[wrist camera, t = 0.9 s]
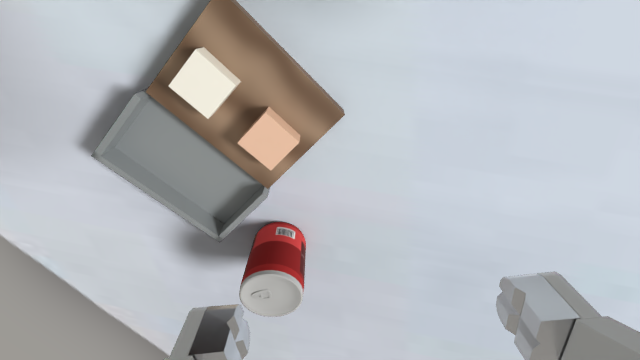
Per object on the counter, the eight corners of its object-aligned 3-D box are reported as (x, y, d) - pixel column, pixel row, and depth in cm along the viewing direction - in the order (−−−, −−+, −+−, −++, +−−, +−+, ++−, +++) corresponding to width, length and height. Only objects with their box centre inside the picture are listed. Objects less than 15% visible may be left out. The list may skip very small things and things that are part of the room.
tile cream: (203, 47, 33) (195, 49, 30) (241, 81, 34) (236, 85, 32) (177, 81, 34) (168, 86, 32) (214, 112, 36) (208, 119, 34)
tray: (149, 87, 37) (134, 93, 34) (270, 184, 43) (267, 197, 40) (108, 145, 40) (91, 155, 37) (226, 227, 47) (219, 242, 43)
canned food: (245, 230, 47) (226, 285, 37) (293, 213, 45) (286, 265, 36) (268, 265, 50) (256, 324, 40) (313, 250, 49) (312, 307, 39)
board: (226, -10, 32) (219, -12, 30) (343, 109, 38) (344, 114, 36) (155, 87, 37) (145, 91, 35) (270, 180, 43) (267, 188, 41)
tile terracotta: (268, 106, 36) (265, 112, 33) (300, 135, 37) (299, 142, 35) (242, 135, 37) (237, 143, 35) (273, 162, 39) (270, 170, 37)
